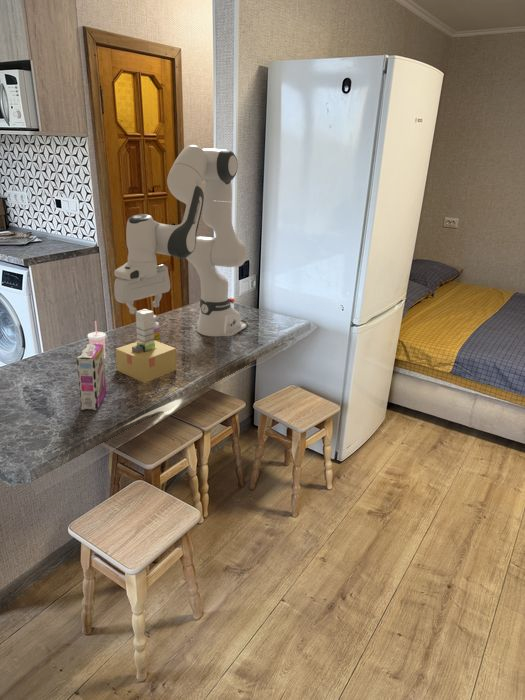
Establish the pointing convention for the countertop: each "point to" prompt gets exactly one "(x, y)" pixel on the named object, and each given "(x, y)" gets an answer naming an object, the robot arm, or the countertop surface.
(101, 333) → the beverage cup
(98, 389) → the candy bar box
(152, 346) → the column
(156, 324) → the supplement bottle
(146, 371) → the housing
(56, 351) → the countertop surface
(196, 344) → the countertop surface
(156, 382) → the countertop surface
